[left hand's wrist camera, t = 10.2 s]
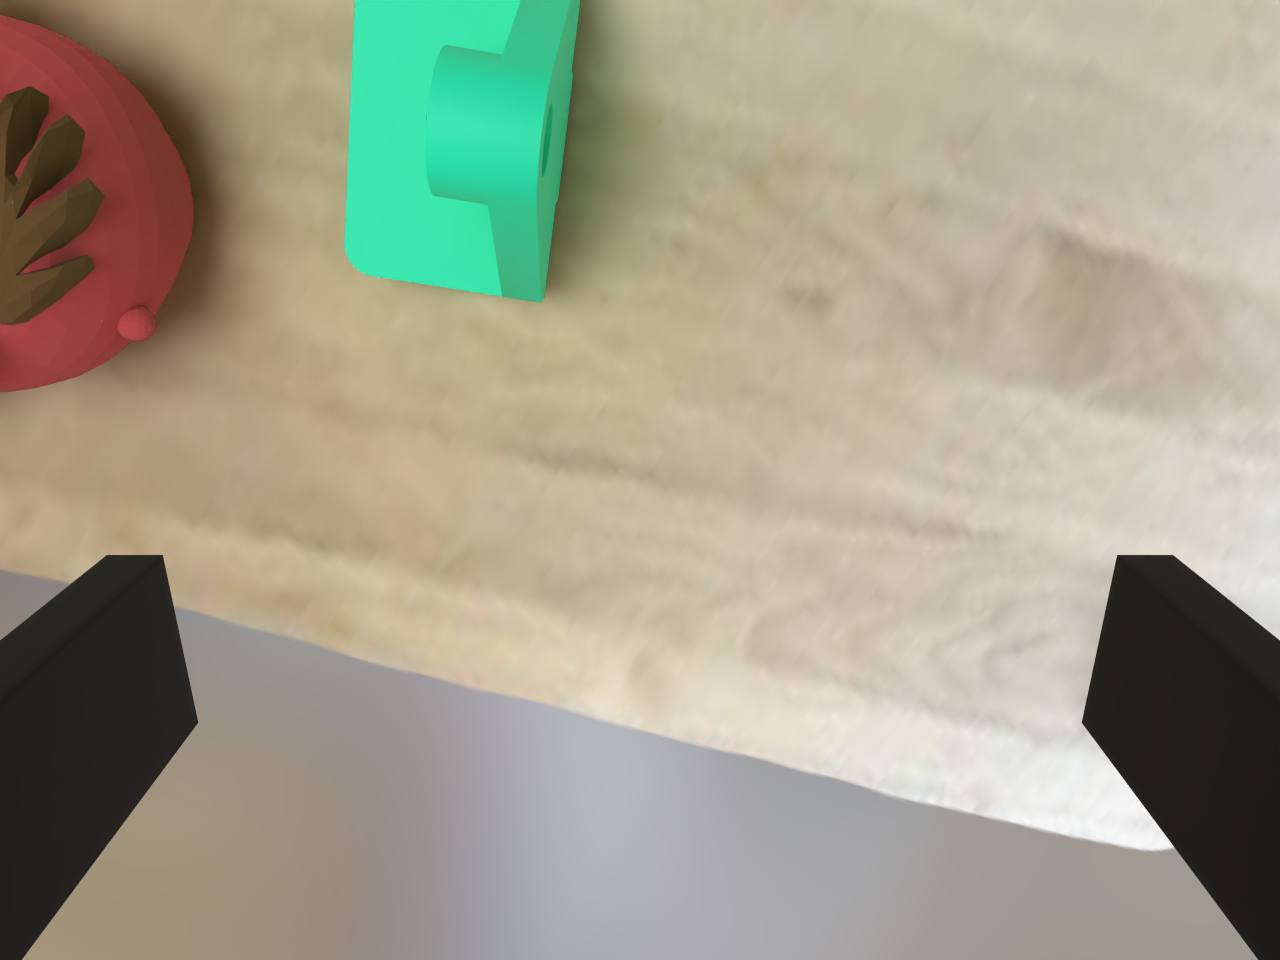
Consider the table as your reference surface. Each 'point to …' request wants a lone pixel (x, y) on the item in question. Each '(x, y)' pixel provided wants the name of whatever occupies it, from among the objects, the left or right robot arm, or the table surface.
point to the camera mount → (458, 140)
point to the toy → (80, 209)
